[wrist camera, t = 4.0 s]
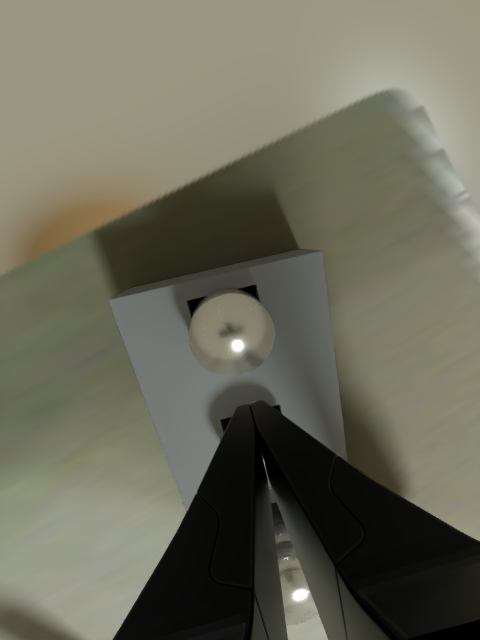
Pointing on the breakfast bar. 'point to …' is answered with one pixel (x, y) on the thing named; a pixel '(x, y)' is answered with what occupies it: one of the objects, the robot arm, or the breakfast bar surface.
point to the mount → (229, 392)
